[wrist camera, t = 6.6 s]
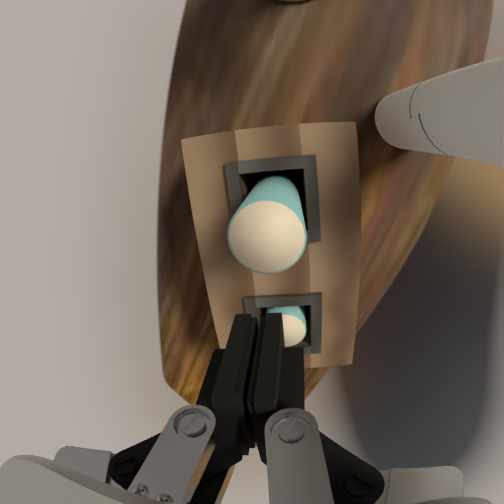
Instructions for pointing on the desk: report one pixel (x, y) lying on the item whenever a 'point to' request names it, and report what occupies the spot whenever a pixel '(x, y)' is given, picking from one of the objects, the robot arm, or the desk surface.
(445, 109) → the cylindrical container
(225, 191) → the walnut block
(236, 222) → the peg
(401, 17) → the desk surface
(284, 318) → the peg
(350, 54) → the desk surface
